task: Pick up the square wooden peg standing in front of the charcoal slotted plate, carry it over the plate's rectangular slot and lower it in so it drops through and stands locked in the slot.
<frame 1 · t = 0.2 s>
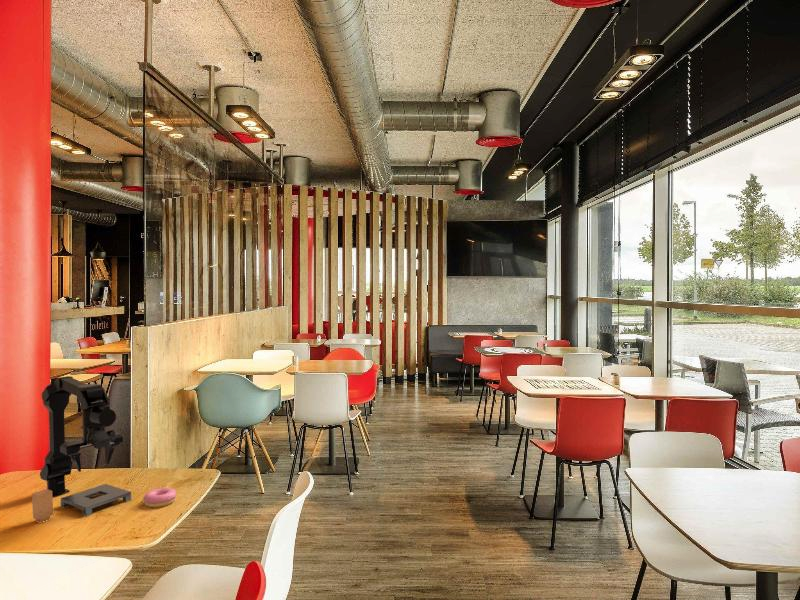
hand: (93, 467, 193), 14 cm above the table, tool pointing down, fingers open, 9 cm apart
slotted plate: (96, 503, 199), on the table
doughnut: (160, 503, 199), on the table
square wooden peg: (43, 520, 185), on the table
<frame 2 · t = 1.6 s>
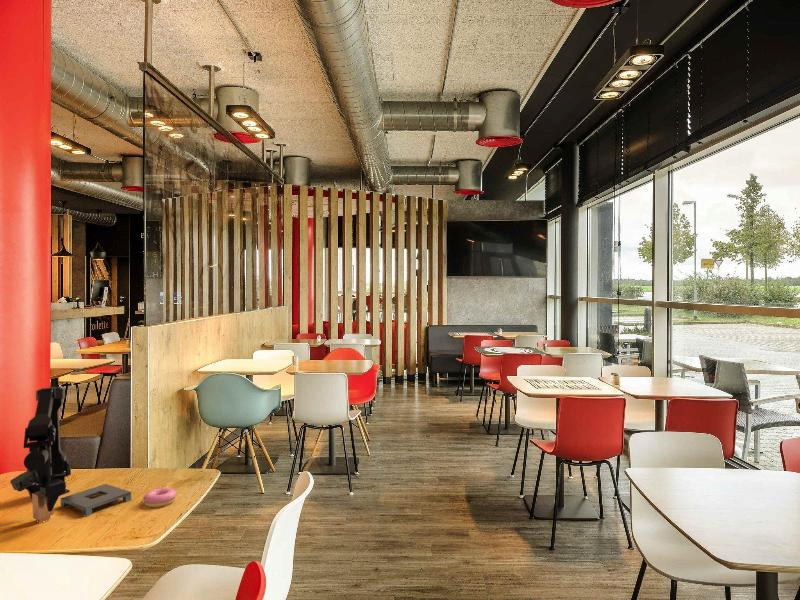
hand: (42, 508, 185), 4 cm above the table, tool pointing down, fingers open, 9 cm apart
nothing on the table moved.
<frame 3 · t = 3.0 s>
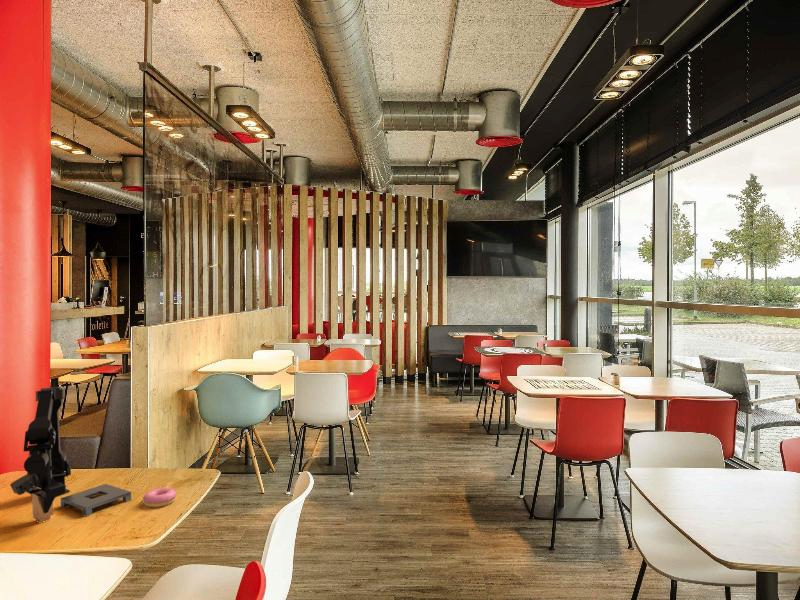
hand: (43, 511, 185), 3 cm above the table, tool pointing down, fingers closed on square wooden peg, 3 cm apart
square wooden peg: (43, 520, 185), on the table, touching gripper
everything else where it was.
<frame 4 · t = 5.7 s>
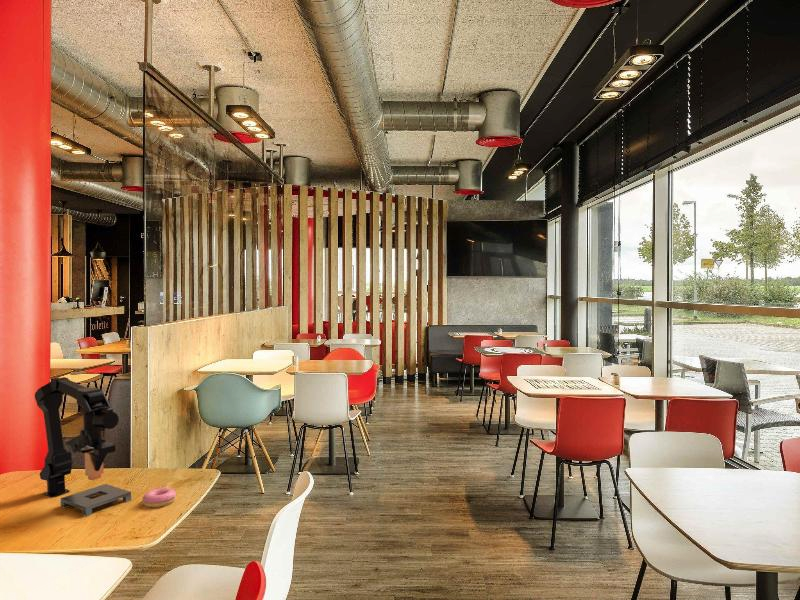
hand: (94, 469, 198), 12 cm above the table, tool pointing down, fingers closed on square wooden peg, 3 cm apart
square wooden peg: (94, 478, 198), point 9 cm above the table, touching gripper
everything else where it was.
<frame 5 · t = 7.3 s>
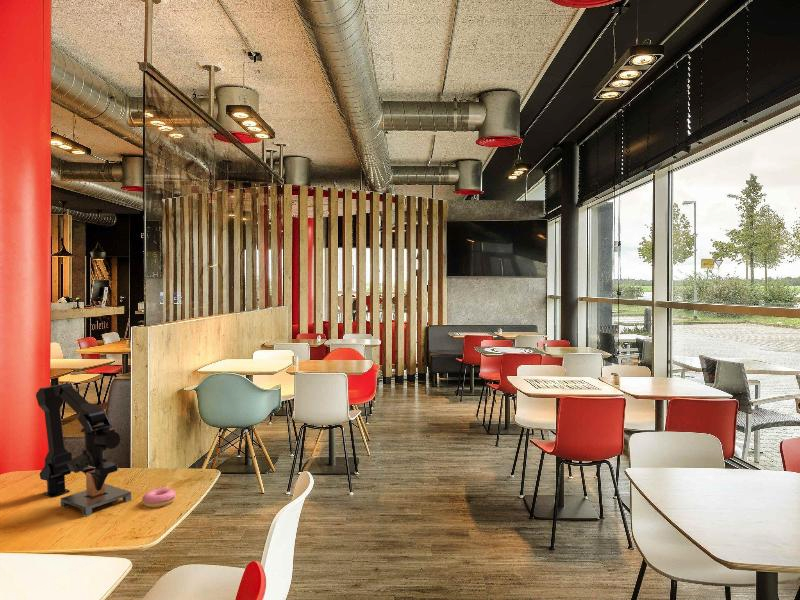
hand: (95, 489, 198), 5 cm above the table, tool pointing down, fingers closed on square wooden peg, 3 cm apart
square wooden peg: (96, 497, 199), point 2 cm above the table, touching gripper
everything else where it was.
when the fingers open (4 cm above the table, at t = 8.5 s): square wooden peg drops 1 cm, on the table.
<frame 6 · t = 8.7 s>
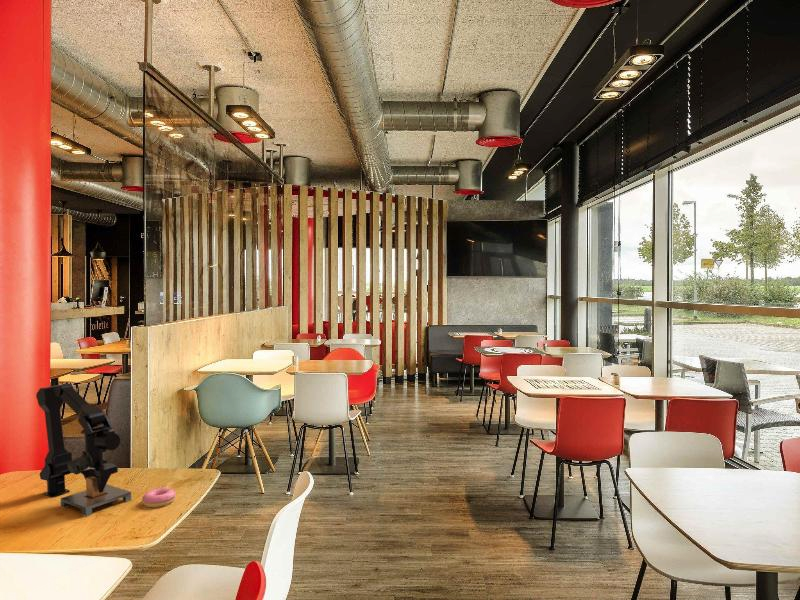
hand: (95, 490, 198), 4 cm above the table, tool pointing down, fingers open, 6 cm apart
square wooden peg: (96, 503, 199), on the table
everything else where it was.
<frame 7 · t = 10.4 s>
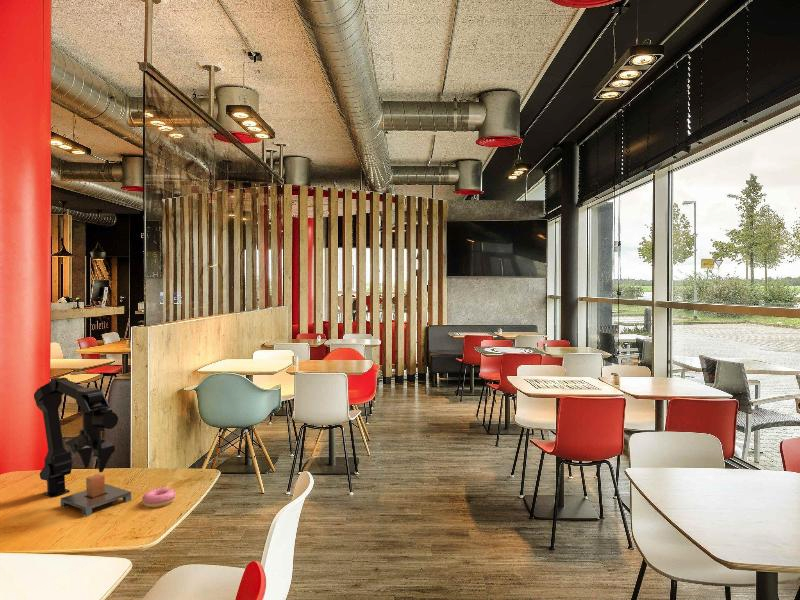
hand: (93, 469, 198), 12 cm above the table, tool pointing down, fingers open, 9 cm apart
nothing on the table moved.
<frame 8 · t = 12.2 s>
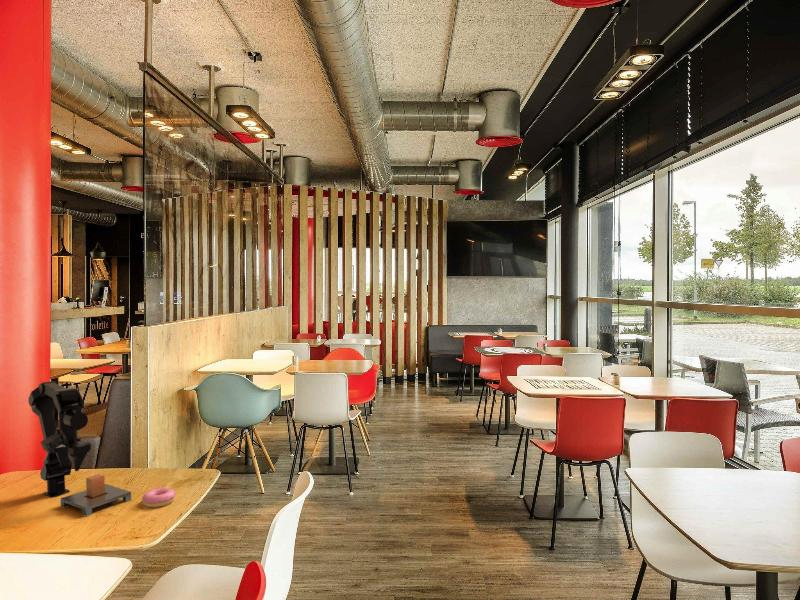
hand: (69, 468, 200), 12 cm above the table, tool pointing down, fingers open, 9 cm apart
nothing on the table moved.
at the end: square wooden peg 0.1 cm off-centre on the slotted plate, point 0.0 cm above the slotted plate's base; square wooden peg tilted 0°; the gripper is holding nothing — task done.
